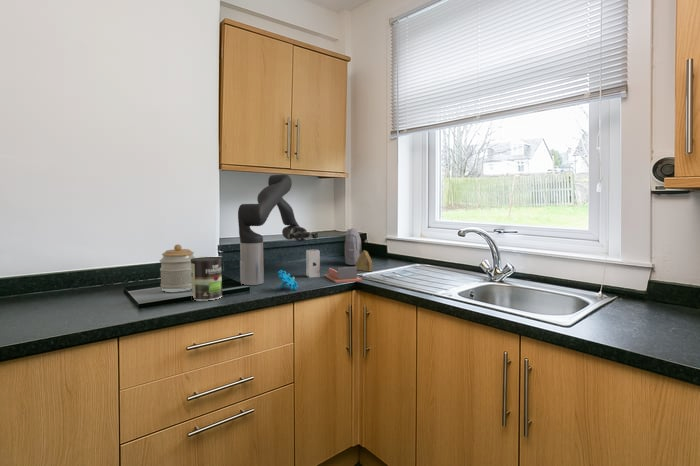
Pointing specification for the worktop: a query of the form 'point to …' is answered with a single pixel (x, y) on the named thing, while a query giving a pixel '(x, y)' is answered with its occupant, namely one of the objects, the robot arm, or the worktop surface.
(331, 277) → the coupler cradle
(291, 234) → the robot arm
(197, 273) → the coffee can
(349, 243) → the small grey backpack
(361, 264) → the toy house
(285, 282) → the gear
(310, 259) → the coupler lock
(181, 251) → the jar
